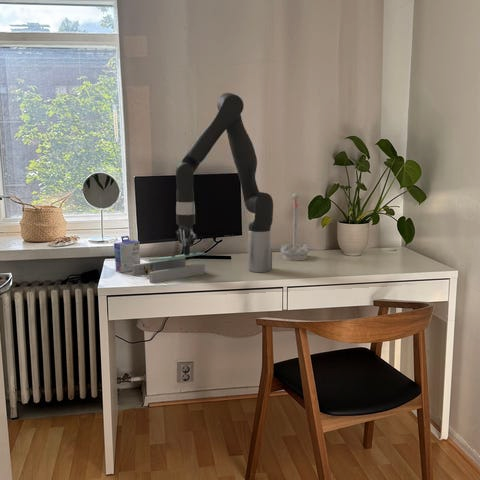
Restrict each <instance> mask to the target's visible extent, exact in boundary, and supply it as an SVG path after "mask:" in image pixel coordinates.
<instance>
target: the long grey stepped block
mask: <svg viewBox="0 0 480 480" xmlns="http://www.w3.org/2000/svg"><path fill="white" fill-rule="evenodd" d="M150 264H152V265H153V267H154V269H155V270H154V271H153V272H150V278H149V282H150V283H151V284H153V283H159V282H164V281H169V280H175V279H179V278H180V279H181V278H185V277H190V276H191V277H192V276H197V275H203V274H206V272H205V271H206V264H205V263H196V264H190V265H186V257H184V258H177V259H171V260H161V261H148V262H142V263H140V264H136V265H132V270H131V276H132V275H133V276H137V275H143V274H145V275H146V273H145V272H144V271H143V270H141V269H140V268H139V267H141V268H142V269H143V267H144V266H145V268H146V269H147V267H148V269H150Z"/></svg>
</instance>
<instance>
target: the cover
mask: <svg viewBox="0 0 480 480" xmlns="http://www.w3.org/2000/svg"><path fill="white" fill-rule="evenodd" d="M202 255H205V252H191V253H190V254H189V255H184V254H183V253H182V254H176V255H171V256H164V257H163V256H162V257H158V258H151V259H149V260H148V262H155V261H162V260H171V259H177V258H184V257H185V258H189V257H194V256H195V257H196V256H202Z"/></svg>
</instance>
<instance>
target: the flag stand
mask: <svg viewBox="0 0 480 480" xmlns="http://www.w3.org/2000/svg"><path fill="white" fill-rule="evenodd" d="M299 198H300V195H299V194H298V192H297V193H293V194H292V199H293V226H292V227H293V229H292V231H293V234H292V235H293V238H292V239H293V241H292V242H293V245H292V246H291V243H287V244H285V243H284V245H280V252H281V254H282V259H284V260H286V261H304V260H306V259H307V257H308V256H307V255H308V254H309V252H310V247H309V245H307V244H303V245H302V246H301V244H300V243H297V238H298V237H297V236H298V235H297V232H298V231H297V228H298V199H299Z"/></svg>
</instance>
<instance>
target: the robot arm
mask: <svg viewBox="0 0 480 480" xmlns="http://www.w3.org/2000/svg"><path fill="white" fill-rule="evenodd" d="M216 107H217V111H218V112H217V114H216V115H215V117H214V118H213V120H212V121H211V122H210V124H209V125H208V126H207V127H206V128H205V129H204V130H203V131H202V132H201V133H200V134H199V135H198V137H197V138H196V139H195V140H194V142H193V143H192V145H190V146H191V147H190V148H189V149H188V151H187V153H186V154H185V156H184V157H183V158H182V159H181V161H180V162H179V163H178V164H177V166H176V169H175V179H176V180H175V181H176V193H175V194H176V198H175V199H176V205H175V213H176V214H175V215H176V216H175V219H176V225H178V229H177V230H175V234H176V237H177V239H178V242H179V244H181V245H182V251H183V252H182V255H183V254H184V255H189V254H191V252H190V251H191V249H190V248H191V246H192V245H194V243H195V240H196V239H197V235H198V234H197V233H195V232H194V227H193V226H194V225H195V224H196V205H195V191H194V178H195V177H194V175H195V174H194V173H195V172H196V170H197V169H198V167H199V166H200V164H201V163H203V161H204V160H205V159H206V157H207V156H208V154H209V153H210V151H211V150H212V148H213V147H214V146H215V144H216V143H217V142H218V141H219V139H220V137H221V136H222V135H223V133H224V132H226V134H227V139H228V143H229V147H230V150H231V152H230V153H231V155H232V159H233V162H234V165H235V168H236V171H237V172H236V173H237V176H238V180H239V182H240V186H241V187H240V188H241V190H242V191H241V192H242V196H243V202H244V206H245V209H246V210H247V211H248V212H249V213H251V214H254V219H253V221H251V222H249V224H248V271H249V272H253V273H266V272H269V271H271V270H273V247H272V246H271V229H272V228H271V227H272V224H273V218H274V217H273V216H274V201H273V197H272V195H271V194H270V193H267V192H261V191H259V188H258V185H257V180H256V173H257V168H258V158H257V154H256V151H255V146H254V144H253V142H252V140H251V138H250V135H249V133H248V132H247V130H246V127H245V126H244V123H243V120H242V119H243V118H242V115H241V114H242V113H243V111H244V107H245V106H244V101H243V99H242V98H241V97H240V96H238V95H237V94H234V93H233V92H232V93H231V92H226V93H225V92H224V93H222V94H221V95H220V96H219V97H218V100H217V105H216Z"/></svg>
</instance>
